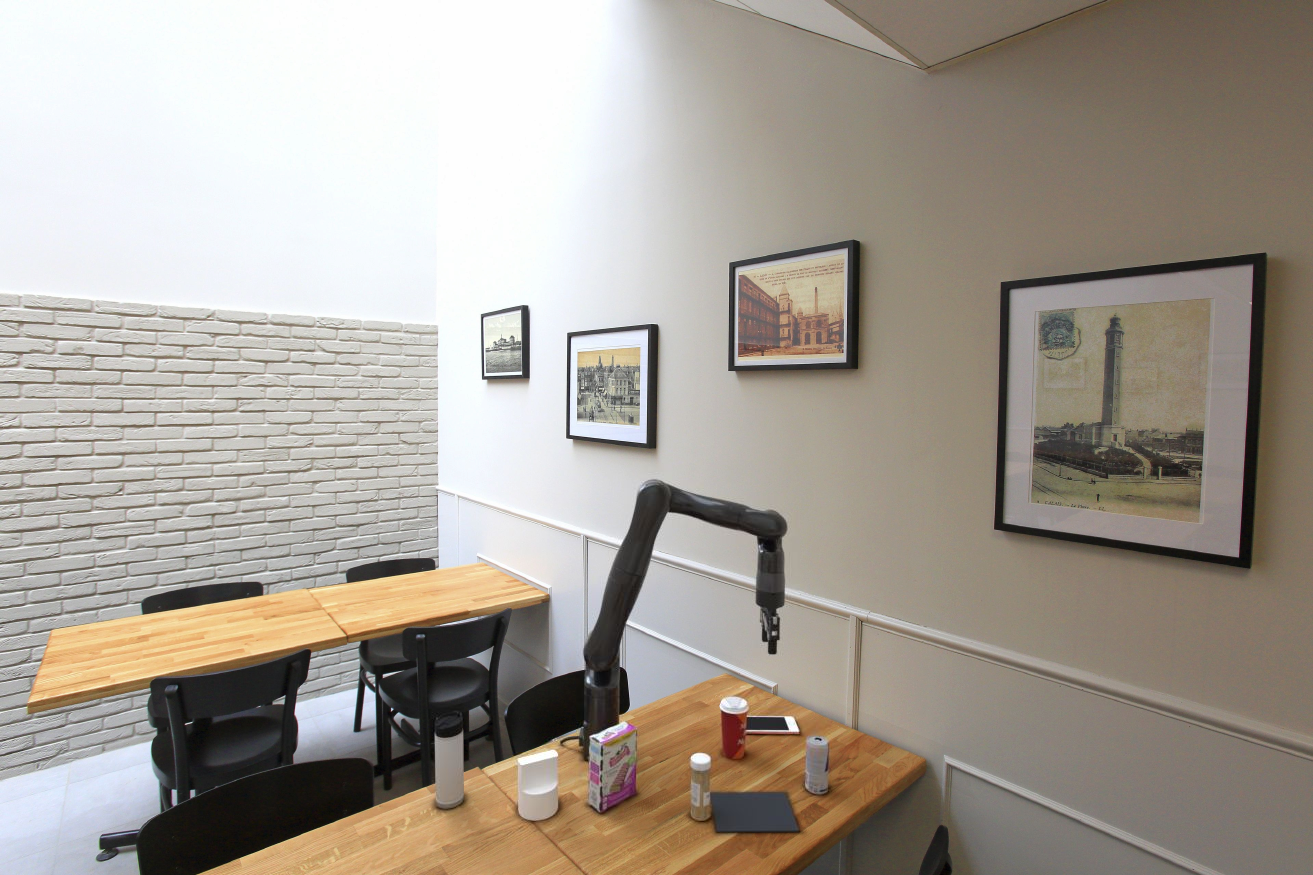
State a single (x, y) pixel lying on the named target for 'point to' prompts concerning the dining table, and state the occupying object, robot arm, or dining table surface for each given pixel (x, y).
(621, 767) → the candy bar box
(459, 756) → the travel mug
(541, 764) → the base with upright slab
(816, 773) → the energy drink
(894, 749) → the dining table surface
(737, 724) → the paper cup
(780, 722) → the cell phone
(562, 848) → the dining table surface
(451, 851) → the dining table surface
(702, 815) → the sprinkles bottle
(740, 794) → the rubber mat
